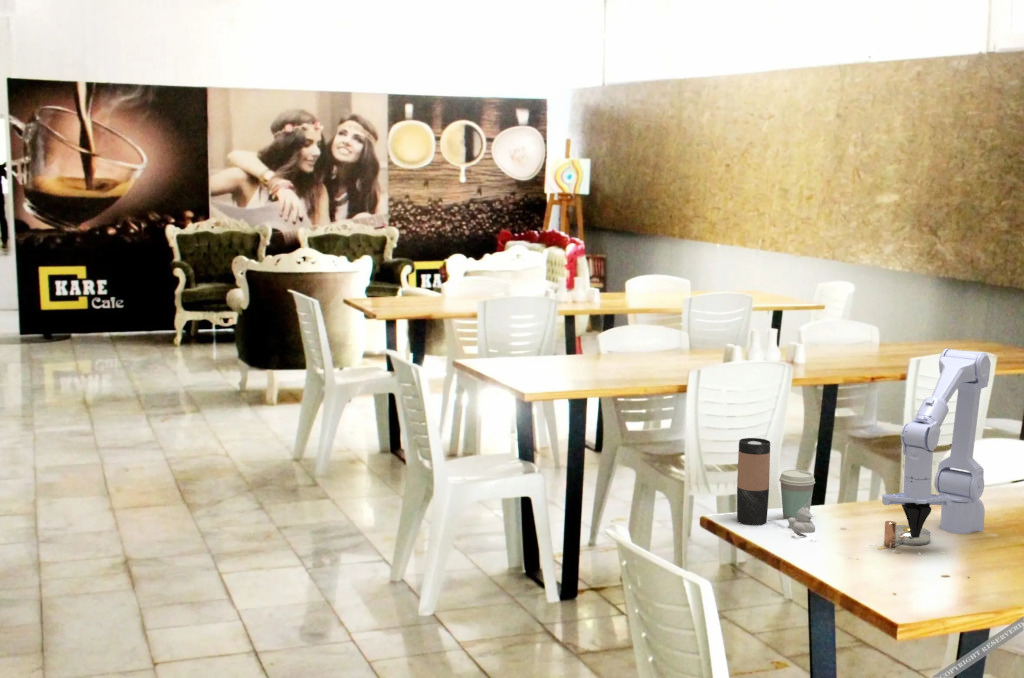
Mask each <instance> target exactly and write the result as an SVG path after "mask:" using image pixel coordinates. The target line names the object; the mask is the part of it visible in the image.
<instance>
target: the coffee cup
mask: <svg viewBox="0 0 1024 678" xmlns="http://www.w3.org/2000/svg"><path fill="white" fill-rule="evenodd" d="M815 480H816V478H815V477H814V473H813V472H811V471H808V470H802V469H785V470H782V471H781V474H780V476H779V480H778V481H779V482H780V493H781V494H780V495H781V505H782V507H781V508H782V517H783V520H788V519H789V518H791V517H793V518H796V519H797V516H796V514H797V512H798V510H799V509H801V508H802V507H804V505H805V504H806V507H807V508H808V509H809V511H811V505H812V497H813V491H814V485H815V484H816V481H815Z"/></svg>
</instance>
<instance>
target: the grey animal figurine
mask: <svg viewBox="0 0 1024 678" xmlns="http://www.w3.org/2000/svg"><path fill="white" fill-rule="evenodd" d="M810 511H811V510H810ZM810 511H809V509H808V508H807V507H806V504H805V505H804V507H802V508H801V509H799V510H798V512H797V514H796V516H797V519H796V518H793V517H791V518H789V519H787V521H788V529H792V531H793V533H794V534H796V536H798V537H802V538H803V537H804V538H806V537H808V536H807V535H806V533H807V534H808V533H810V534H812V533H814V532H815V531H816V526H815V524H814V521H812V518H813V514H812V513H811V512H810Z"/></svg>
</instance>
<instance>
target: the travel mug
mask: <svg viewBox="0 0 1024 678" xmlns="http://www.w3.org/2000/svg"><path fill="white" fill-rule="evenodd" d="M770 464H771V441H770V440H768V439H765V438H757V437H745V438H740V439H739V442H738V455H737V479H736V520H737V522H738V523H739V522H740V523H739V524H741V525H747V526H762V525H765V524H767V521H768V509H769V494H770V492H769V491H770V471H771V470H770V467H771V466H770Z"/></svg>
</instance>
